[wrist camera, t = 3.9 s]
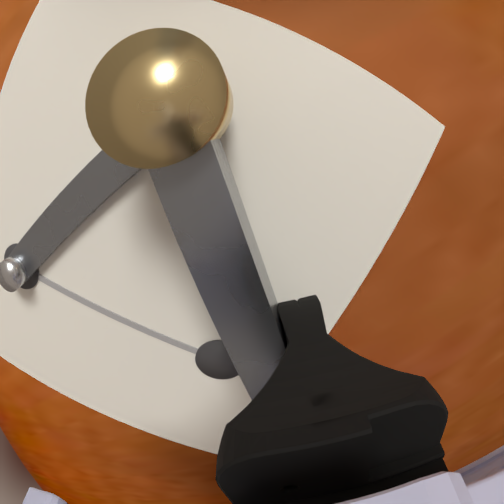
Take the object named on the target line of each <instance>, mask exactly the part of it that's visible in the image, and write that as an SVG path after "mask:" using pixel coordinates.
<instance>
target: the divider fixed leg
mask: <svg viewBox="0 0 504 504" xmlns="http://www.w3.org/2000/svg"><path fill="white" fill-rule="evenodd" d="M140 170H141V168H135V167H130V166H127V165H124V164H122V163H120V162H118V161H116V160H114V159H113V158H111V157H110V156H108V155H107V154H106V153H105V152H104V151H103V150H101V151H100V152H99V153H98V154H97V155H96V156H95V157H94V158H93V159H92V160H91V161H90V162H89V163H88V164H87V165H86V166H85V167H84V168H83V169H82V170H81V171H80V172H79V173H78V174H77V175H76V176H75V177H74V178H73V179H72V181H71V182H70V183H69V184H68V185H67V186H66V187H65V188H64V189H63V190H62V191H61V192H60V193H59V195H58V196H57V197H56V198H55V199H54V200H53V201H52V202H51V204H50V205H49V206H48V207H47V208H46V209H45V211H44V212H43V213H42V214H41V215H40V216H39V218H38V219H37V220H36V221H35V223H34V224H33V225H32V226H31V227H30V229H29V230H28V231H27V232H26V234H25V235H24V236H23V238H22V239H21V240H20V241H19V243H18V244H17V245H16V247H15V248H14V249H13V251H12V252H11V253H10V255H9V257H8V258H6V259H5V260H3V261H2V262H0V284H1V286H2V287H3V288H4V289H5V290H6V291H8V292H15V291H16V290H17V289H18V288H19V287H21V286H22V285H23V284H24V283H25V282H27V281H28V280H29V279H30V278H31V277H32V275H33V274H34V273H35V272H36V271H37V270H38V269H39V268H40V267H41V266H42V265H43V263H44V262H45V261H46V260H47V259H48V258H49V257H50V256H51V255H52V254H53V253H54V252H55V250H56V249H57V248H58V247H59V246H60V245H61V244H62V243H63V242H64V241H65V240H66V239H67V238H68V237H69V236H70V235H71V234H72V233H73V232H74V231H75V230H76V229H77V228H78V227H79V226H80V225H81V224H82V223H83V222H84V221H85V220H86V219H87V218H88V217H89V216H90V215H91V214H92V213H93V212H94V211H95V210H96V209H98V208H99V207H100V206H101V205H102V204H103V203H104V202H105V201H106V200H107V199H108V198H109V197H110V196H112V195H113V194H114V193H115V192H116V191H117V190H118V189H119V188H120V187H122V186H123V185H124V184H125V183H126V182H127V181H128V180H130V179H131V178H132V177H133V176H134V175H135V174H137V173H138V172H139V171H140Z"/></svg>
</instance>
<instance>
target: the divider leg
mask: <svg viewBox="0 0 504 504" xmlns="http://www.w3.org/2000/svg"><path fill="white" fill-rule="evenodd" d="M85 112H86V119H87V123H88V127H89V129H90V132H91V134H92V136H93V138H94V140H95V141H96V143H97V144H98V145H99V147H100V148H101V149H102V150H103V151H104V152H105V153H106V154H107V155H108V156H110V157H111V158H113V159H114V160H116V161H118V162H120V163H122V164H124V165H127V166H130V167H135V168H141V169H148V170H149V173H150V175H151V178H152V181H153V183H154V186H155V188H156V191H157V193H158V196H159V199H160V201H161V204H162V206H163V209H164V211H165V213H166V216H167V218H168V221H169V223H170V226H171V228H172V231H173V233H174V235H175V238H176V240H177V243H178V245H179V247H180V250H181V252H182V254H183V257H184V259H185V261H186V264H187V266H188V268H189V270H190V273H191V275H192V277H193V279H194V282H195V284H196V286H197V288H198V291H199V293H200V295H201V297H202V299H203V302H204V304H205V306H206V308H207V310H208V312H209V315H210V317H211V319H212V321H213V323H214V325H215V327H216V330H217V332H218V334H219V336H220V338H221V340H222V342H223V344H224V346H225V348H226V350H227V352H228V354H229V356H230V358H231V360H232V362H233V364H234V366H235V368H236V370H237V372H238V374H239V376H240V378H241V380H242V382H243V384H244V386H245V388H246V390H247V392H248V394H249V396H250V398H251V400H253V399H254V397H255V396H256V395H257V394H258V393H259V391H260V390H261V389H262V388H263V387H264V385H265V384H266V383H267V381H268V380H269V378H270V377H271V375H272V374H273V372H274V370H275V369H276V367H277V365H278V364H279V362H280V360H281V358H282V356H283V354H284V352H285V349H286V347H287V343H286V339H285V336H284V332H283V328H282V325H281V321H280V316H279V312H278V303H277V300H276V297H275V294H274V291H273V288H272V286H271V283H270V280H269V277H268V274H267V271H266V268H265V265H264V262H263V260H262V257H261V254H260V251H259V248H258V245H257V242H256V239H255V237H254V234H253V231H252V228H251V225H250V222H249V219H248V217H247V214H246V211H245V208H244V205H243V202H242V199H241V197H240V194H239V191H238V188H237V185H236V182H235V180H234V177H233V174H232V171H231V168H230V165H229V163H228V160H227V157H226V154H225V151H224V148H223V146H222V143H221V140H220V138H221V137H222V135H223V134H224V133H225V131H226V129H227V128H228V126H229V123H230V121H231V117H232V114H233V94H232V90H231V87H230V85H229V82H228V80H227V77H226V75H225V73H224V70H223V68H222V65H221V63H220V61H219V59H218V57H217V56H216V54H215V53H214V51H213V50H212V49H211V48H210V47H209V46H208V45H207V44H206V43H205V42H204V41H202V40H201V39H200V38H198V37H196V36H195V35H193V34H191V33H188V32H186V31H183V30H179V29H174V28H153V29H147V30H143V31H140V32H137V33H135V34H132V35H130V36H128V37H126V38H125V39H123V40H121V41H120V42H119V43H117V44H116V45H114V46H113V47H112V48H111V49H110V50H109V51H108V52H107V53H106V54H105V55H104V57H103V58H102V59H101V60H100V62H99V63H98V65H97V66H96V68H95V70H94V72H93V74H92V76H91V78H90V81H89V84H88V88H87V92H86V99H85Z"/></svg>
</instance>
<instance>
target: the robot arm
mask: <svg viewBox="0 0 504 504" xmlns="http://www.w3.org/2000/svg"><path fill="white" fill-rule="evenodd" d="M278 312H279V316H280V321H281V325H282V328H283V332H284V336H285V339H286V343H287V347H286V349H285V352H284V354H283V356H282V358H281V360H280V362H279V364H278V365H277V367H276V369H275V370H274V372H273V374H272V375H271V377H270V378H269V380H268V381H267V383H266V384H265V385H264V387H263V388H262V389H261V390H260V391H259V393H258V394H257V395H256V396H255V397H254V399H253V400H252V401H251V402H250V403H249V404H248V405H247V406H246V407H245V408H244V409H243V410H242V411H241V412H240V413H239V414H238V415H237V416H236V417H234V418H233V419H232V420H231V421H230V422H229V423H227V424H226V426H225V429H224V432H223V435H222V438H221V442H220V446H219V450H218V455H217V466H216V481H217V484H218V486H219V487H220V488H221V490H222V491H223V492H224V494H225V495H226V496H227V497H228V498H229V500H230V501H231V502H232V503H233V504H504V445H503V446H502V447H500V448H498V449H497V450H495V451H493V452H491V453H490V454H488V455H486V456H484V457H482V458H480V459H479V460H477V461H475V462H473V463H471V464H469V465H467V466H465V467H463V468H461V469H459V470H457V471H455V472H448V469H447V467H446V465H445V463H444V460H443V457H444V455H445V454H444V450H443V448H442V446H441V444H440V440H441V437H442V435H443V432H444V429H445V426H446V423H447V418H448V411H447V408H446V405H445V404H444V402H443V400H442V399H441V397H440V395H439V394H438V393H437V392H436V390H435V389H434V388H433V387H432V386H431V384H430V383H429V382H428V381H427V380H426V379H425V378H424V377H421V376H417V375H413V374H409V373H404V372H400V371H397V370H393V369H390V368H388V367H385V366H382V365H379V364H377V363H374V362H372V361H370V360H368V359H366V358H364V357H362V356H359V355H358V354H356V353H354V352H352V351H351V350H349V349H348V348H346V347H345V346H343V345H342V344H340V343H339V342H337V341H336V340H335V339H333V338H332V337H331V336H330V335H328V334H327V331H326V326H325V322H324V317H323V312H322V307H321V303H320V301H319V299H318V297H317V296H316V295H312V296H307V297H303V298H299V299H298V301H296V300H295V299H294V300H290V301H285V302H281V303H278ZM23 504H68V503H67V502H65V501H64V500H63V499H61V498H60V497H58V496H56V495H54V494H52V493H49V492H46V491H43V490H39V489H36V488H33V487H30V488H29V490H28V492H27V494H26V497H25V499H24V501H23Z"/></svg>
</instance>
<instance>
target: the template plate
mask: <svg viewBox="0 0 504 504" xmlns="http://www.w3.org/2000/svg"><path fill="white" fill-rule="evenodd" d="M153 28H174V29H179V30H183V31H186V32H188V33H191V34H193V35H195V36H196V37H198V38H200V39H201V40H202V41H204V42H205V43H206V44H207V45H208V46H209V47H210V48H211V49H212V50H213V51H214V53H215V54H216V56H217V57H218V59H219V61H220V63H221V65H222V68H223V70H224V73H225V75H226V77H227V80H228V82H229V85H230V87H231V90H232V94H233V114H232V117H231V121H230V123H229V126H228V128H227V129H226V131H225V133H224V134H223V135H222V137H221V138H220V140H221V143H222V146H223V148H224V151H225V154H226V157H227V160H228V163H229V165H230V168H231V171H232V174H233V177H234V180H235V182H236V185H237V188H238V191H239V194H240V197H241V199H242V202H243V205H244V208H245V211H246V214H247V217H248V219H249V222H250V225H251V228H252V231H253V234H254V237H255V239H256V242H257V245H258V248H259V251H260V254H261V257H262V260H263V262H264V265H265V268H266V271H267V274H268V277H269V280H270V283H271V286H272V288H273V291H274V294H275V297H276V300H277V303H281V302H285V301H290V300H294V299H295V300H296V301H298V299H299V298H303V297H307V296H312V295H316V296H317V297H318V299H319V301H320V303H321V307H322V312H323V317H324V322H325V326H326V331H327V334H329V332H330V331H331V329H332V328H333V326H334V325H335V323H336V322H337V320H338V319H339V318H340V316H341V315H342V313H343V312H344V310H345V309H346V307H347V305H348V304H349V302H350V301H351V299H352V298H353V296H354V295H355V293H356V292H357V290H358V288H359V287H360V285H361V284H362V282H363V281H364V279H365V277H366V276H367V274H368V272H369V271H370V269H371V268H372V266H373V264H374V263H375V261H376V259H377V258H378V256H379V254H380V253H381V251H382V249H383V247H384V246H385V244H386V242H387V241H388V239H389V237H390V235H391V234H392V232H393V230H394V228H395V226H396V225H397V223H398V221H399V219H400V217H401V216H402V214H403V212H404V210H405V208H406V206H407V204H408V202H409V201H410V199H411V197H412V195H413V193H414V191H415V189H416V187H417V185H418V183H419V181H420V179H421V177H422V175H423V173H424V171H425V169H426V167H427V165H428V163H429V161H430V159H431V157H432V154H433V152H434V150H435V148H436V146H437V144H438V141H439V139H440V137H441V135H442V132H443V130H444V128H445V126H443V125H442V124H441V123H440V122H439V121H437V120H436V119H435V118H434V117H432V116H431V115H430V114H428V113H427V112H426V111H425V110H423V109H422V108H421V107H419V106H418V105H417V104H415V103H414V102H412V101H411V100H410V99H408V98H407V97H405V96H404V95H403V94H401V93H400V92H398V91H397V90H395V89H394V88H392V87H391V86H390V85H388V84H386V83H385V82H383V81H382V80H380V79H379V78H377V77H376V76H374V75H373V74H371V73H369V72H368V71H366V70H364V69H363V68H361V67H359V66H358V65H356V64H354V63H353V62H351V61H349V60H347V59H346V58H344V57H342V56H340V55H339V54H337V53H335V52H333V51H331V50H329V49H327V48H326V47H324V46H322V45H320V44H318V43H316V42H314V41H312V40H310V39H308V38H306V37H304V36H301V35H299V34H297V33H295V32H293V31H291V30H289V29H286V28H284V27H282V26H279V25H277V24H275V23H272V22H270V21H268V20H265V19H263V18H260V17H258V16H255V15H252V14H250V13H247V12H244V11H242V10H239V9H236V8H233V7H230V6H227V5H224V4H221V3H218V2H215V1H212V0H40V1H39V3H38V5H37V7H36V9H35V11H34V12H33V14H32V16H31V18H30V20H29V23H28V25H27V27H26V29H25V31H24V33H23V35H22V38H21V40H20V42H19V45H18V47H17V49H16V52H15V54H14V57H13V59H12V62H11V64H10V67H9V70H8V72H7V75H6V78H5V81H4V84H3V87H2V90H1V93H0V262H2V261H3V260H5V259H6V258H8V257H9V255H10V253H11V252H12V251H13V249H14V248H15V247H16V245H17V244H18V243H19V241H20V240H21V239H22V238H23V236H24V235H25V234H26V232H27V231H28V230H29V229H30V227H31V226H32V225H33V224H34V223H35V221H36V220H37V219H38V218H39V216H40V215H41V214H42V213H43V212H44V211H45V209H46V208H47V207H48V206H49V205H50V204H51V202H52V201H53V200H54V199H55V198H56V197H57V196H58V195H59V193H60V192H61V191H62V190H63V189H64V188H65V187H66V186H67V185H68V184H69V183H70V182H71V181H72V179H73V178H74V177H75V176H76V175H77V174H78V173H79V172H80V171H81V170H82V169H83V168H84V167H85V166H86V165H87V164H88V163H89V162H90V161H91V160H92V159H93V158H94V157H95V156H96V155H97V154H98V153H99V152H100V151H101V150H102V149H101V148H100V147H99V145H98V144H97V143H96V141H95V140H94V138H93V136H92V134H91V132H90V129H89V127H88V123H87V119H86V112H85V99H86V92H87V88H88V84H89V81H90V78H91V76H92V74H93V72H94V70H95V68H96V66H97V65H98V63H99V62H100V60H101V59H102V58H103V57H104V55H105V54H106V53H107V52H108V51H109V50H110V49H111V48H112V47H113V46H114V45H116V44H117V43H119V42H120V41H121V40H123V39H125V38H126V37H128V36H130V35H132V34H135V33H137V32H140V31H143V30H147V29H153ZM0 356H1V357H2V358H4V359H5V360H7V361H8V362H10V363H11V364H13V365H14V366H16V367H18V368H19V369H21V370H22V371H24V372H25V373H27V374H29V375H30V376H32V377H34V378H35V379H37V380H39V381H40V382H42V383H44V384H46V385H47V386H49V387H51V388H53V389H55V390H56V391H58V392H60V393H62V394H64V395H66V396H68V397H69V398H71V399H73V400H75V401H77V402H79V403H81V404H83V405H85V406H87V407H90V408H92V409H94V410H96V411H98V412H100V413H102V414H105V415H107V416H109V417H111V418H114V419H116V420H118V421H121V422H123V423H125V424H128V425H130V426H133V427H135V428H138V429H140V430H143V431H146V432H148V433H151V434H154V435H157V436H159V437H162V438H165V439H168V440H171V441H174V442H177V443H180V444H183V445H186V446H190V447H193V448H196V449H200V450H203V451H207V452H210V453H214V454H218V450H219V446H220V442H221V438H222V435H223V432H224V429H225V426H226V424H227V423H229V422H230V421H231V420H232V419H233V418H234V417H236V416H237V415H238V414H239V413H240V412H241V411H242V410H243V409H244V408H245V407H246V406H247V405H248V404H249V403H250V402H251V401H252V400H251V398H250V396H249V394H248V392H247V390H246V388H245V386H244V384H243V382H242V380H241V378H240V376H239V374H238V372H237V370H236V368H235V366H234V364H233V362H232V360H231V358H230V356H229V354H228V352H227V350H226V348H225V346H224V344H223V342H222V340H221V338H220V336H219V334H218V332H217V330H216V327H215V325H214V323H213V321H212V319H211V317H210V315H209V312H208V310H207V308H206V306H205V304H204V302H203V299H202V297H201V295H200V293H199V291H198V288H197V286H196V284H195V282H194V279H193V277H192V275H191V273H190V270H189V268H188V266H187V264H186V261H185V259H184V257H183V254H182V252H181V250H180V247H179V245H178V243H177V240H176V238H175V235H174V233H173V231H172V228H171V226H170V223H169V221H168V218H167V216H166V213H165V211H164V209H163V206H162V204H161V201H160V199H159V196H158V193H157V191H156V188H155V186H154V183H153V181H152V178H151V175H150V173H149V170H148V169H141V170H140V171H139V172H138V173H137V174H135V175H134V176H133V177H132V178H131V179H130V180H128V181H127V182H126V183H125V184H124V185H123V186H122V187H120V188H119V189H118V190H117V191H116V192H115V193H114V194H113V195H112V196H110V197H109V198H108V199H107V200H106V201H105V202H104V203H103V204H102V205H101V206H100V207H99V208H98V209H96V210H95V211H94V212H93V213H92V214H91V215H90V216H89V217H88V218H87V219H86V220H85V221H84V222H83V223H82V224H81V225H80V226H79V227H78V228H77V229H76V230H75V231H74V232H73V233H72V234H71V235H70V236H69V237H68V238H67V239H66V240H65V241H64V242H63V243H62V244H61V245H60V246H59V247H58V248H57V249H56V250H55V252H54V253H53V254H52V255H51V256H50V257H49V258H48V259H47V260H46V261H45V262H44V263H43V265H42V266H41V267H40V268H39V269H38V270H37V271H36V272H35V273H34V274H33V275H32V277H31V278H30V279H29V280H28V281H27V282H25V283H24V284H23V285H22V286H21V287H19V288H18V289H17V290H16V291H15V292H8V291H6V290H5V289H4V288H3V287H2V286H1V284H0Z"/></svg>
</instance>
